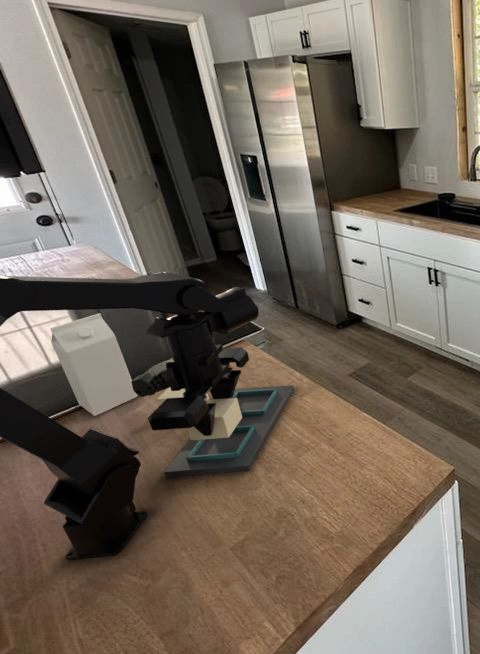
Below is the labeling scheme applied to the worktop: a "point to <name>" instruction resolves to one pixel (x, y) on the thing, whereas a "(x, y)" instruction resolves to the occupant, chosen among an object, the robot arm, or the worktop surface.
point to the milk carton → (93, 363)
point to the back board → (235, 435)
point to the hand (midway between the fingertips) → (216, 424)
